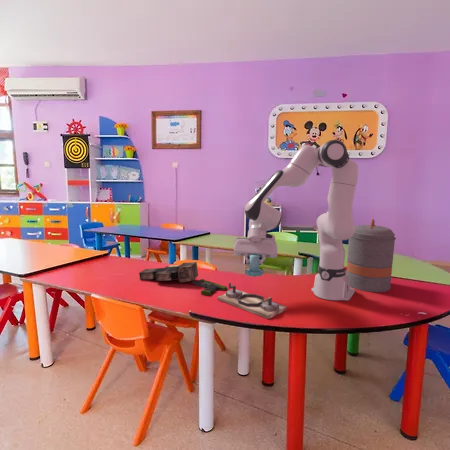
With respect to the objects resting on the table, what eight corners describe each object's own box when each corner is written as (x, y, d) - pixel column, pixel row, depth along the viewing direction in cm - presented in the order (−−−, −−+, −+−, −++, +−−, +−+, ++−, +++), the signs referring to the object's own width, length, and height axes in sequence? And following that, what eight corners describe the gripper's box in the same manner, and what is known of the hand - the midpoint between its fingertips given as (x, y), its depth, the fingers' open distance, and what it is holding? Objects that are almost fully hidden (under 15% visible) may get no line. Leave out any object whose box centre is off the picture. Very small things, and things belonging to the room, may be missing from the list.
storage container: (349, 275, 186) (353, 215, 181) (392, 282, 175) (398, 218, 169) (340, 286, 167) (345, 219, 162) (389, 295, 156) (396, 223, 150)
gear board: (236, 292, 156) (237, 276, 155) (286, 309, 137) (287, 291, 136) (217, 299, 147) (218, 282, 146) (268, 319, 128) (268, 299, 126)
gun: (181, 288, 162) (202, 282, 174) (208, 297, 150) (229, 290, 161) (181, 283, 162) (202, 277, 173) (208, 292, 150) (229, 285, 161)
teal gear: (252, 270, 153) (253, 252, 152) (266, 274, 148) (267, 256, 146) (241, 273, 148) (241, 255, 146) (255, 277, 142) (255, 259, 141)
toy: (137, 287, 170) (191, 285, 163) (134, 271, 169) (188, 268, 162) (151, 278, 186) (200, 276, 178) (149, 263, 185) (198, 260, 177)
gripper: (234, 233, 153) (230, 259, 145) (278, 235, 150) (276, 261, 142) (235, 241, 158) (232, 265, 150) (277, 243, 155) (276, 268, 147)
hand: (254, 263), depth 146 cm, fingers closed on teal gear, 4 cm apart
